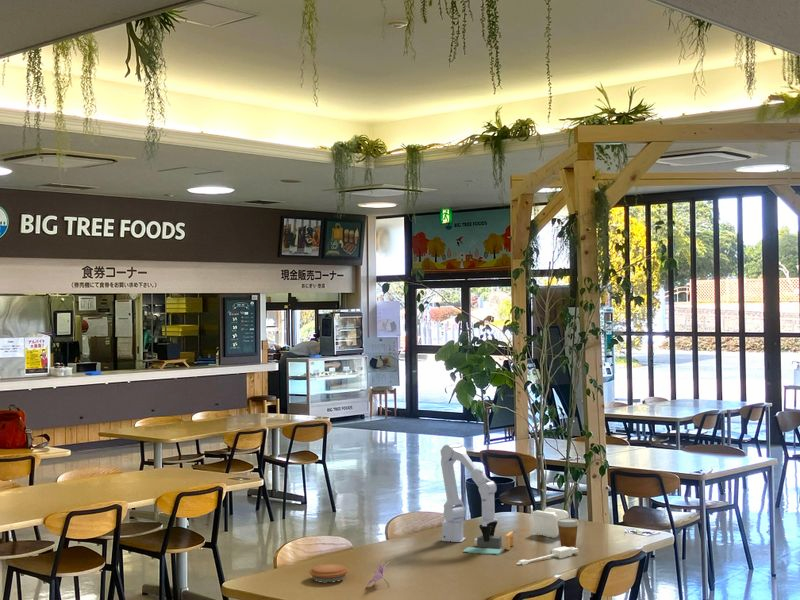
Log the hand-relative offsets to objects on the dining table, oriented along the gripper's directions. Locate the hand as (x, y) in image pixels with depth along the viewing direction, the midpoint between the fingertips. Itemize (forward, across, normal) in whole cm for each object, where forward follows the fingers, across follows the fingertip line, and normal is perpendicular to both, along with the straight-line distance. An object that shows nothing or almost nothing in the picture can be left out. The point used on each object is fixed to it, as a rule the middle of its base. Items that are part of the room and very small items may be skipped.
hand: (488, 539), depth 426 cm
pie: (+3, -71, +46) cm, 85 cm away
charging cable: (+4, -15, -30) cm, 33 cm away
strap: (+3, 0, -10) cm, 10 cm away
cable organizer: (+3, +30, -22) cm, 37 cm away
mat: (+3, -10, 0) cm, 10 cm away
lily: (+3, -75, +23) cm, 78 cm away
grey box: (+3, 0, 0) cm, 3 cm away
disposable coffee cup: (+3, +8, -34) cm, 35 cm away
